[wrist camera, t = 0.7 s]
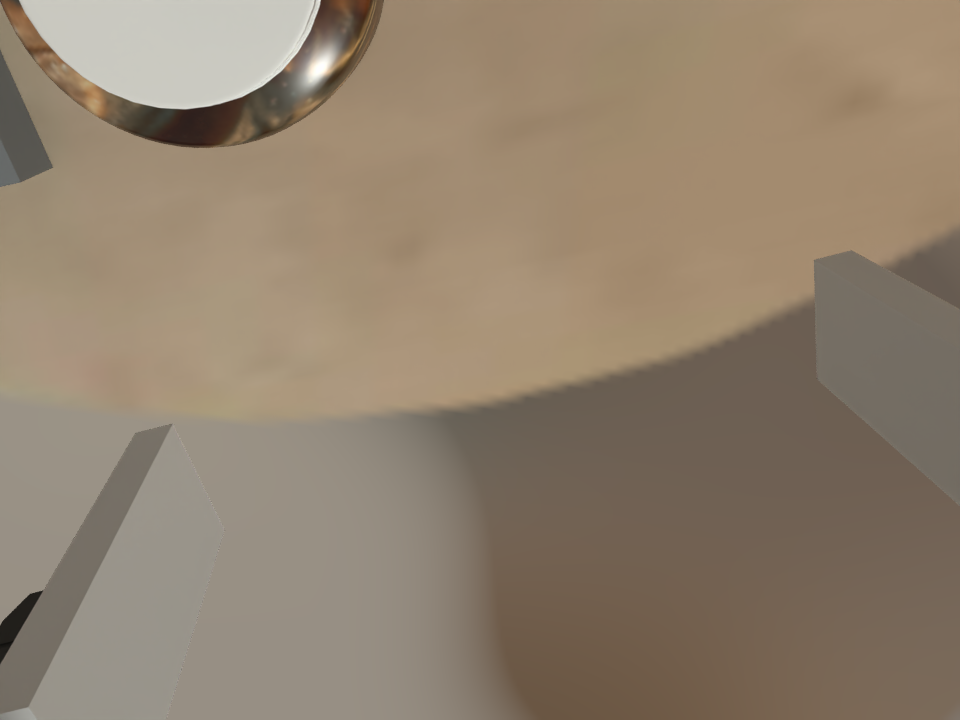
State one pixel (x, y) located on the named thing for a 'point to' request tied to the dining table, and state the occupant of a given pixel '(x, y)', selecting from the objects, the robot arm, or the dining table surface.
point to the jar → (197, 61)
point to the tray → (17, 135)
